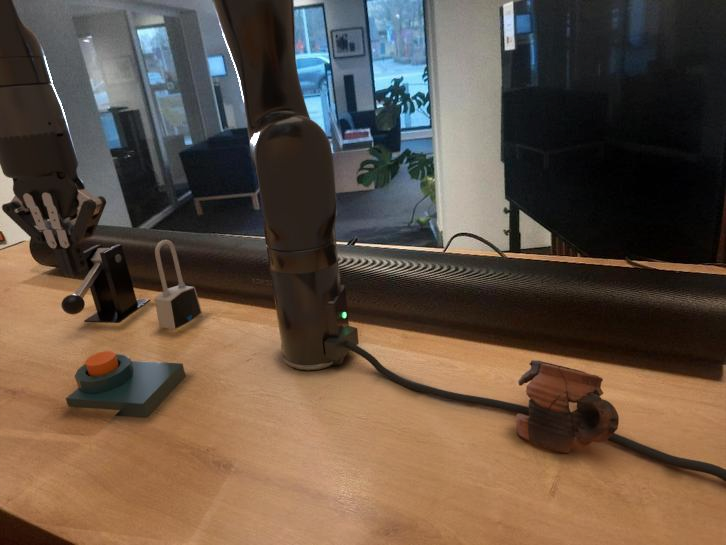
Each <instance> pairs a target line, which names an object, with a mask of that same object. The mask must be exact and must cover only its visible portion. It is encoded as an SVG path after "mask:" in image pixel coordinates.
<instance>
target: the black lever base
mask: <svg viewBox="0 0 726 545" xmlns="http://www.w3.org/2000/svg"><path fill="white" fill-rule="evenodd" d="M98 248H104V247H103V244H96V245H93V246H91V247H89V248H87V249H85V250H83V252H84V255H85V258H86V261H87V268H86V271H85V272H84V273H85V277H86V276H87V274H88V273H89V271H90V270H91V268H92V267H93V265H94V263H93V262H92V261H91V258H92V257H93V255H94V254H95V252H96V251H97V249H98ZM108 248H109V249H107V250H105V251H103V252H101V253H100V256H101V259H102V263H103V266H104V269H102V270H101V271H100V273H99V275H98V276H97V278H96V279H95V281H94V282H93V284H92V285H91V287H90V288H89V290H90V293H91V297H92V299H93V300H92V301H93V303H94V306H95V308H96V309H95V310H96V312H95V313H94V314H92V315H91V316H88V317H87V318H86V319H84V320H83V321H84V323H105V324H106V323H107V324H108V323H111V324H112V323H114V324H120V323H121V322H123V321H124V320H126V319H127V318H128V317H130V316H131V315H133V314H134V313H135V312H137V311H138V310H139V309H141V308H142V307H144V306H145V305H146V304H148V303H149V302H151V299H147V298H146V299H145V298H144V299H143V298H142V299H141V298H137V297H136V293H135V289H134V286H133V281H132V277H131V273H130V270H129V267H128V263H127V259H126V255H125V252H124V247H123V244H115V245H113V246H111V247H108Z"/></svg>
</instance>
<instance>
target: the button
mask: <svg viewBox="0 0 726 545" xmlns="http://www.w3.org/2000/svg"><path fill="white" fill-rule="evenodd" d="M116 354H117V353H116V352H115V351H113V350H104V351H100V352H97V353H94V354H92V355H89V357H87V358H86V359H85V362H84V364H86V367H87V371H88V374H89V375H90V376H100V375H105V374H107V373H110V372H112V371H114V370H115V369H117V368H118V366H119V364H118V361H117V357H116Z"/></svg>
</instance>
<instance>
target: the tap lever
mask: <svg viewBox="0 0 726 545" xmlns="http://www.w3.org/2000/svg"><path fill="white" fill-rule="evenodd" d="M109 248H110V247H103V248H98V249H97V251H96V252H95V254H94V255H93V257H92V258H91V261H92V262H93V263H94V265H93V267H92V268H91V270H90V271H89V273H88V274H87V276H86V275H85V278H83V281H82V282H81V283H80V285H79V287H78V288H77V289H76V291H75V292H74V294H68V295H66V296H65V297H64V298H62V301H61V309H62V310H63V312H64V313H66V314H67V315H77V314H78V315H79V314H80V313H81V312H82V311H83V310H84V308H85V305H86V303H85V300H84V297H85V296H86V294H87V293H88V291H89V290H90V287H91V285H92V284H93V282H94V281H95V279H96V278H97V276H98V275H99V273H100V271H101V270H102V269H104V266H103V263H102V259H101V256H100V253H101V252H103V251H105V250H107V249H109Z"/></svg>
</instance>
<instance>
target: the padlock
mask: <svg viewBox="0 0 726 545" xmlns="http://www.w3.org/2000/svg"><path fill="white" fill-rule="evenodd" d="M164 245H167V246H168V247H169V249H170V252H171V256H172V260H173V264H174V268H175V272H176V276H177V281H178V283H177V285H175V286H172V287H169V288H168V284H167V280H166V276H165V271H164V267H163V263H162V258H161V248H162V247H163V246H164ZM154 255H155V261H156V265H157V270H158V274H159V278H160V279H159V280H160V282H161V283H160V284H161V287H162V292H161V293H159V294H158V295H157V296H156V297H154V304H155V309H156V315H157V316H156V317H157V321H158V326H159V327H158V328H164V329H169V330H176V329H178V328H179V327H182V326H183V325H185V324H188V323H189V322H191V321H192V320H194V319H195V318H196V317H197V316H199V315H200V314H202V313H203V310H202V307H201V304H200V300H199V296H198V293H197V290H196V287H195V286H190V285H186V284H185V282H184V280H183V276H182V272H181V266H180V262H179V258H178V254H177V251H176V247H175V245H174V243H173V241H171V240H169V239H162V240H160V241H159V242H158V243H157V244H156V245H155V249H154Z"/></svg>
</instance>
